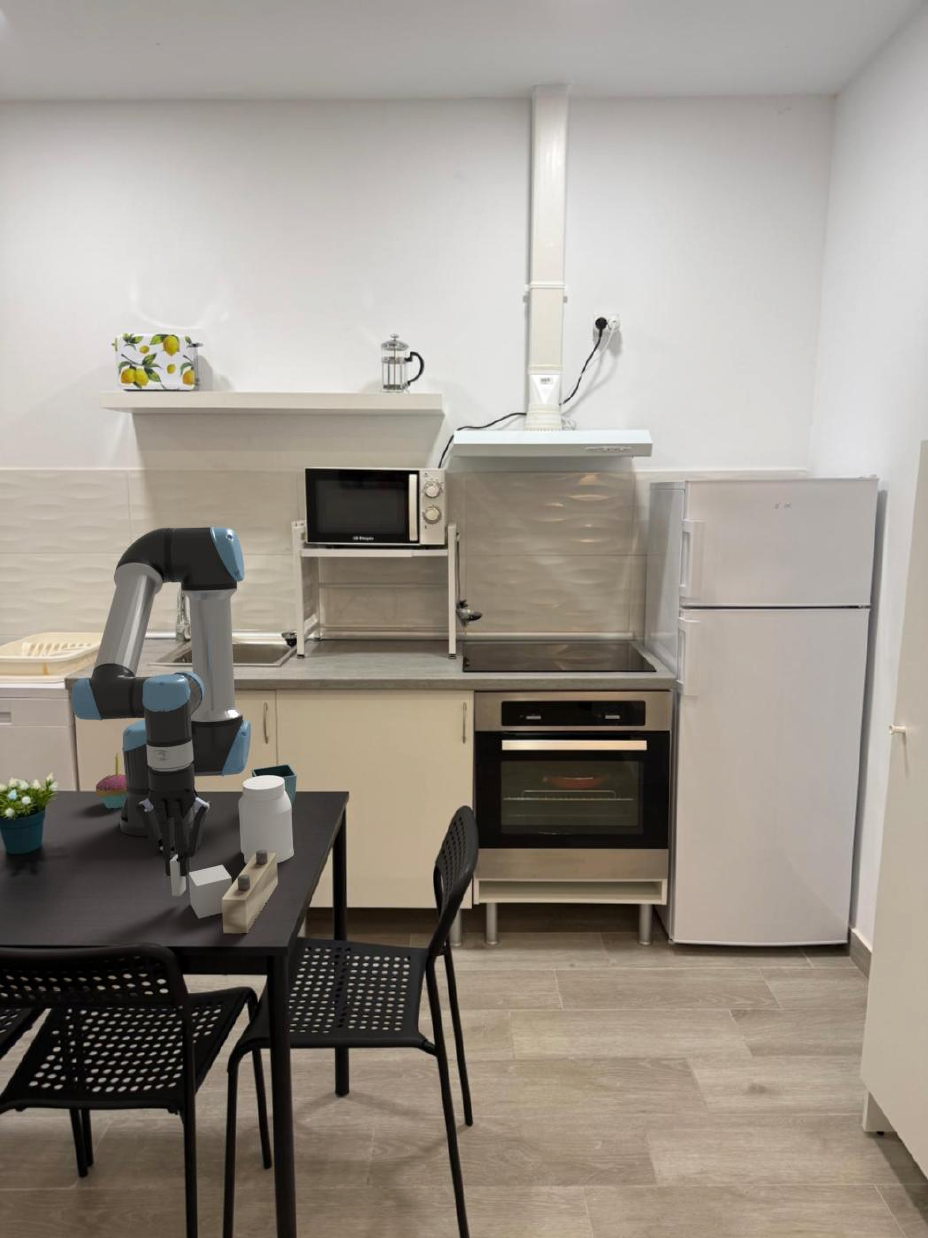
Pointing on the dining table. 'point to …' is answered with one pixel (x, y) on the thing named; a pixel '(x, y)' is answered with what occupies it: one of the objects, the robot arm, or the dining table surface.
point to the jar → (265, 818)
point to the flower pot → (284, 773)
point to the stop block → (249, 892)
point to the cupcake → (112, 789)
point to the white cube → (208, 890)
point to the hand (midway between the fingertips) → (179, 892)
